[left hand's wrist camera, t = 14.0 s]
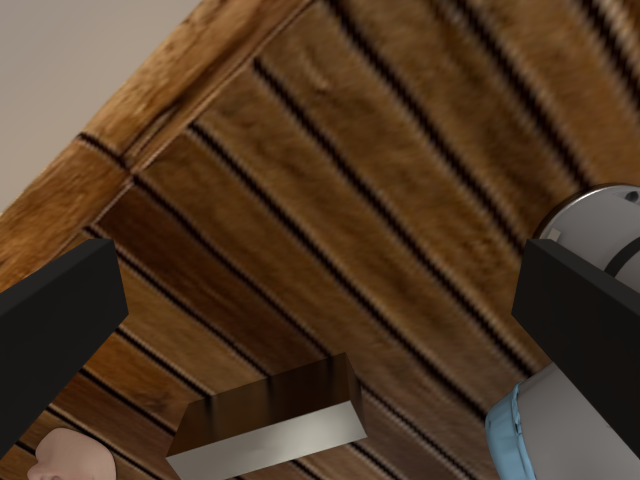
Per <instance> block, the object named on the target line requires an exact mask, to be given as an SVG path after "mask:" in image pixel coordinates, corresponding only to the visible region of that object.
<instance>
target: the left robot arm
mask: <svg viewBox="0 0 640 480" xmlns="http://www.w3.org/2000/svg"><path fill="white" fill-rule="evenodd" d="M128 314H129V313H128V308H127V303H126V298H125V293H124V289H123V284H122V279H121V274H120V269H119V265H118V260H117V255H116V250H115V245H114V240H113V239H88V240H86V241H85V242H83V243H82V244H80V245H78V246H77V247H75V248H73V249H72V250H70V251H68V252H67V253H65V254H64V255H62V256H60V257H59V258H57V259H55V260H54V261H52V262H51V263H49V264H47V265H46V266H44V267H42V268H41V269H39V270H38V271H36V272H34V273H33V274H31V275H29V276H28V277H26V278H25V279H23V280H21V281H20V282H18V283H16V284H15V285H13V286H11V287H10V288H8V289H7V290H5V291H3V292H2V293H0V460H1V459H2V457H3V456H4V455H5V454H6V453H7V452H8V451H9V449H10V448H11V447H12V446H13V445H14V444H15V443H16V442H17V440H18V439H19V438H20V437H21V436H22V435H23V434H24V432H25V431H26V430H27V429H28V428H29V427H30V426H31V425H32V423H33V422H34V421H35V420H36V419H37V418H38V417H39V415H40V414H41V413H42V412H43V411H44V410H45V409H46V407H47V406H48V405H49V404H50V403H51V402H52V401H53V400H54V398H55V397H56V396H57V395H58V394H59V393H60V392H61V390H62V389H63V388H64V387H65V386H66V385H67V384H68V383H69V381H70V380H71V379H72V378H73V377H74V376H75V375H76V373H77V372H78V371H79V370H80V369H81V368H82V367H83V365H84V364H85V363H86V362H87V361H88V360H89V359H90V358H91V356H92V355H93V354H94V353H95V352H96V351H97V350H98V348H99V347H100V346H101V345H102V344H103V343H104V342H105V341H106V339H107V338H108V337H109V336H110V335H111V334H112V333H113V331H114V330H115V329H116V328H117V327H118V326H119V325H120V323H121V322H122V321H123V320H124V319H125V318H126V317H127V316H128ZM511 314H512V316H513V317H514V318H515V319H516V320H517V321H518V322H519V324H520V325H521V326H522V327H523V328H524V329H525V330H526V331H527V333H528V334H529V335H530V336H531V337H532V338H533V339H534V341H535V342H536V343H537V344H538V345H539V346H540V347H541V348H542V350H543V351H544V352H545V353H546V354H547V355H548V356H549V358H550V359H551V360H552V362H551V363H549V364H548V365H547V366H545V367H544V368H542V369H541V370H540V371H538V372H537V373H535V374H534V375H533V376H531V377H530V378H528V379H527V380H526V381H524V382H519V383H517V384H516V385H515V386H514V388H513V390H512V391H511V392H510V393H508V394H507V395H506V396H505V397H503V398H502V399H501V400H500V401H499V402H497V403H496V404H495V405H494V406H493V407H492V408H491V409H490V410H489V412H488V414H487V416H486V421H485V431H486V437H487V438H486V440H487V444H488V448H489V451H490V454H491V457H492V460H493V463H494V465H495V467H496V470H497V472H498V475H499V477H500V479H501V480H640V187H639V186H635V185H632V184H626V183H606V184H600V185H595V186H592V187H589V188H586V189H584V190H581V191H579V192H577V193H575V194H573V195H572V196H570V197H568V198H567V199H565V200H564V201H562V202H561V203H560V204H559V205H557V206H556V207H555V208H554V209H553V210H552V211H551V212H550V213H549V214H548V215H547V216H546V218H545V219H544V220H543V221H542V223H541V224H540V226H539V227H538V229H537V231H536V233H535V235H534V237H533V239H527V240H526V245H525V250H524V255H523V260H522V265H521V269H520V274H519V279H518V284H517V289H516V293H515V298H514V303H513V308H512V313H511Z"/></svg>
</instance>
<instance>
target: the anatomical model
mask: <svg viewBox="0 0 640 480" xmlns="http://www.w3.org/2000/svg"><path fill="white" fill-rule="evenodd" d="M36 458H37V460H38V463H37V464H36V465H34V466H33V467H32V468H31V469H30V470H29V471H28V474H27V476H28V478H29V480H116V469H115V463H114V459H113V457H112V454H111V453H110V451H109V450H108V449H107V448H106V447H105V446H104V445H102V444H101V443H99V442H98V441H96V440H94V439H92V438H90V437H88V436H86V435H84V434H81V433H79V432H76V431H73V430H70V429H66V428H57V429H54V430H52V431H51V432H50V433H49V434H48V435H47V436H46V437H45V438H44V439H43V440H42V441H41V442H40V444H39V446H38V447H37V449H36Z"/></svg>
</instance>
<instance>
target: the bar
mask: <svg viewBox="0 0 640 480" xmlns="http://www.w3.org/2000/svg"><path fill="white" fill-rule="evenodd" d="M366 437H367V430H366V423H365V416H364V409H363V402H362V395H361V388H360V384H359V381H358V379H357V377H356V375H355V373H354V370H353V368H352V366H351V364H350V362H349V359H348V357H347V355H346V353H342V354H339V355H336V356H333V357H330V358H327V359H324V360H321V361H318V362H315V363H312V364H308V365H305V366H302V367H299V368H296V369H293V370H290V371H287V372H284V373H281V374H278V375H275V376H272V377H269V378H266V379H263V380H260V381H257V382H254V383H251V384H248V385H245V386H242V387H239V388H236V389H233V390H230V391H227V392H223V393H220V394H217V395H214V396H211V397H208V398H205V399H202V400H199V401H196V402H193V403H190V404H188V407H187V409H186V411H185V414H184V416H183V418H182V421H181V423H180V425H179V428H178V430H177V432H176V435H175V437H174V439H173V442H172V444H171V446H170V449H169V451H168V453H167V456H166V460H167V461H168V462H169V464H170V465H171V466H172V468H173V469H174V470H175V472H176V473H177V474H178V476H179V477H180V478H181V480H224V479H228V478H231V477H234V476H238V475H241V474H245V473H248V472H251V471H255V470H258V469H261V468H265V467H268V466H272V465H275V464H278V463H282V462H285V461H288V460H292V459H295V458H299V457H302V456H305V455H309V454H312V453H316V452H319V451H322V450H326V449H329V448H332V447H336V446H339V445H343V444H346V443H349V442H353V441H356V440H359V439H363V438H366Z"/></svg>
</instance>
